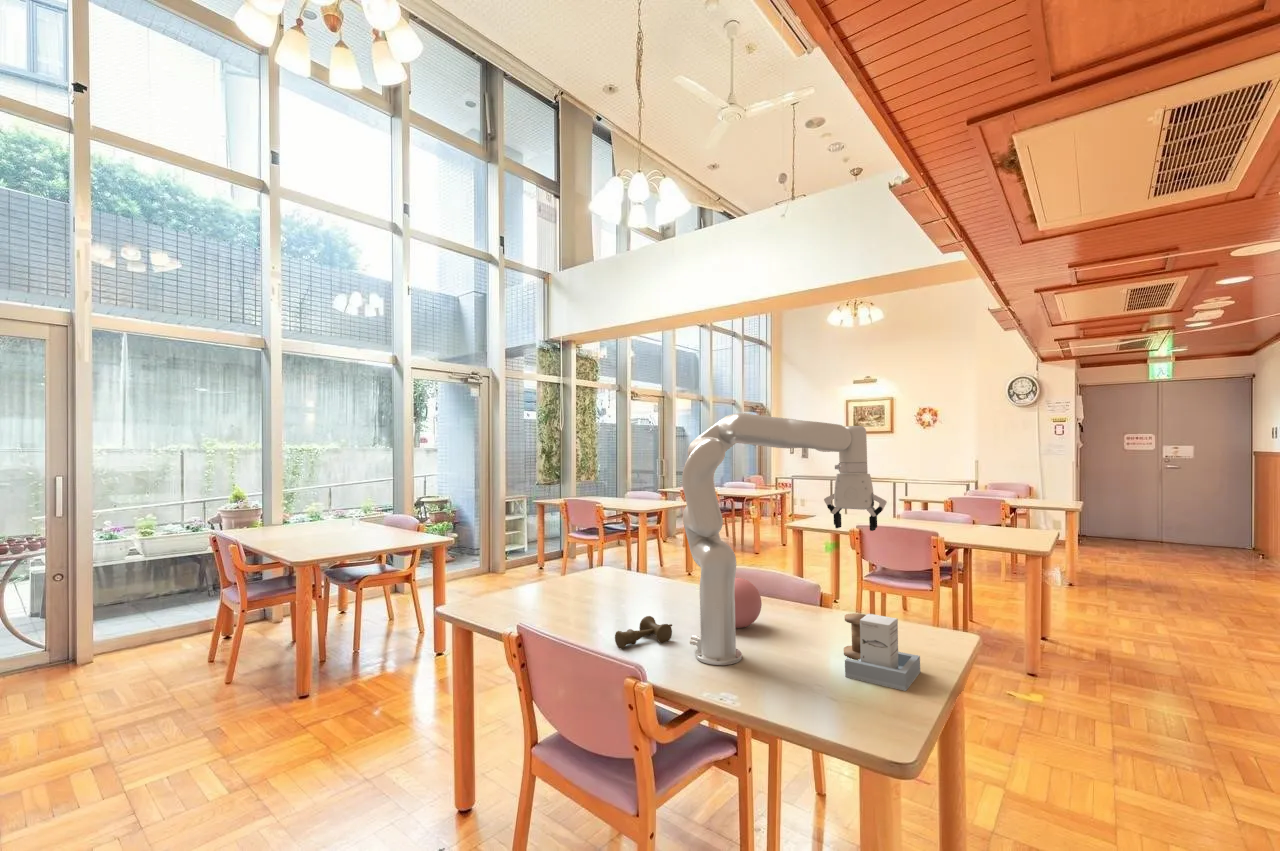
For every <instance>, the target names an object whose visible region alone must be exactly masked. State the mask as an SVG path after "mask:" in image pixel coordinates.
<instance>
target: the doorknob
mask: <svg viewBox="0 0 1280 851" xmlns="http://www.w3.org/2000/svg"><path fill="white" fill-rule="evenodd" d="M866 615H867V614H863V613H856V612H855V613H846V614H845V615H844V622H847V623H848V624H851V645H847V646H845V647H843V655H844V656H845V657H846V656H847V658H848V657H849V658H848V659H851V658H852V659H851V660H855V659H861V650H860V620H861V619H862V618H863V617H864V616H866Z"/></svg>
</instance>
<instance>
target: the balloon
mask: <svg viewBox="0 0 1280 851" xmlns="http://www.w3.org/2000/svg"><path fill="white" fill-rule="evenodd" d="M761 611H762V598H761V594H760V592H759V590H758V589H757V587H756V585H754V584H753V583H752V582H750V580H748V579H745V578H743V577H735V628H736V629H742V628H743V629H744V628H746V627H749V626H750V625H752V624H754V623H755V621H756V620H757V619H758V618H759V615H761V614H760V613H761Z"/></svg>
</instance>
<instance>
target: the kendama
mask: <svg viewBox="0 0 1280 851" xmlns="http://www.w3.org/2000/svg"><path fill="white" fill-rule="evenodd" d="M672 626H673V624H672V623H670V624H668V623H662V624H657V622H656V620H655V618H654V617H653V616H651V615H646V616H644V617H643V618H642V619H641V620H640V623H639V628H638V629H639V630H634V629H631V628H628V629H627V630H626V631H622V630H617V631H616V632H615V634H614V641H615V644H616V646H617V647H618V648H619V649H620V648H621V650H624V649H625V648H626V647H627V646H628V645H632V646H633V645H635V644H636V643H637V642H638V641H639V640H640V639H642V638H644V637H647V636H651V635H653V636H655V637H656V640H657V641H658V643H661V644H664V643H667V642H669V641H670V640H671V638H672V634H673V630H672V629H673V628H672Z"/></svg>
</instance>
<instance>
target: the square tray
mask: <svg viewBox="0 0 1280 851" xmlns="http://www.w3.org/2000/svg"><path fill="white" fill-rule="evenodd" d="M920 673H921V655H918V654H911V653H907V652H902V651H898V669H893V668H888V667H883V666H879V665H874V664H870V663H865V662H861V659H859V660H855V659H851V658H846V659H844V676H845V678H849V679H853V680H858V681H861V682H865V681H866V683H870V684H875V685H879V686H883V687H887V688H890V689H891V688H892V689H896V690H899V691H904V692H907V690H908V689H909V687H910V686H911V685H912V684H913V683H914V681H915V680H916V679H917V677H919V675H920Z"/></svg>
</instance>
